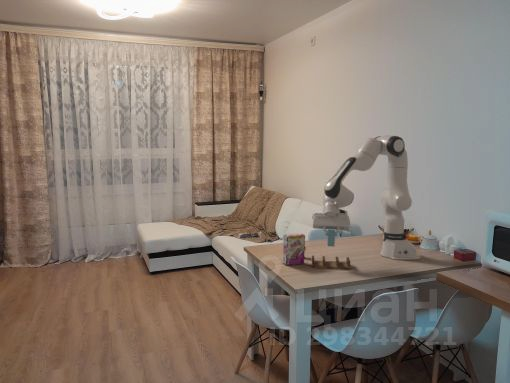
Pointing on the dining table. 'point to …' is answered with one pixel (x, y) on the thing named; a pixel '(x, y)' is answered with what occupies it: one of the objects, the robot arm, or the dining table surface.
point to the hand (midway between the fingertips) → (331, 235)
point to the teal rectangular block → (331, 237)
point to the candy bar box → (293, 249)
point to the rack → (331, 264)
